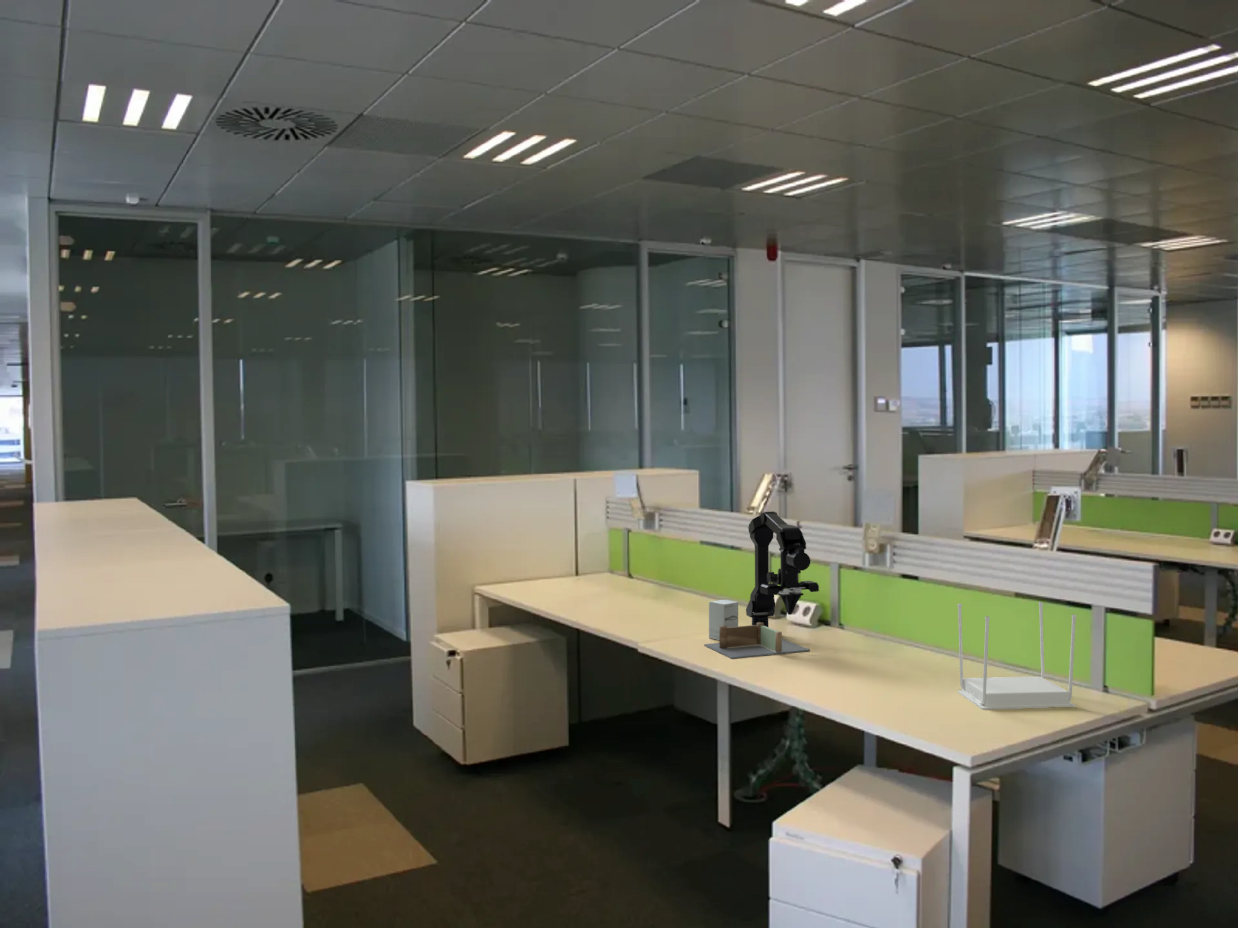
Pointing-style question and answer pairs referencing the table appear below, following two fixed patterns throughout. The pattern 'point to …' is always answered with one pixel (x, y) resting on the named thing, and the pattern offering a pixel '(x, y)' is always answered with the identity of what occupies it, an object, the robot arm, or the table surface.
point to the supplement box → (722, 616)
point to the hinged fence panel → (771, 638)
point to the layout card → (756, 650)
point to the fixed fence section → (740, 635)
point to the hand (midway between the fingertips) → (789, 614)
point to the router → (1015, 681)
